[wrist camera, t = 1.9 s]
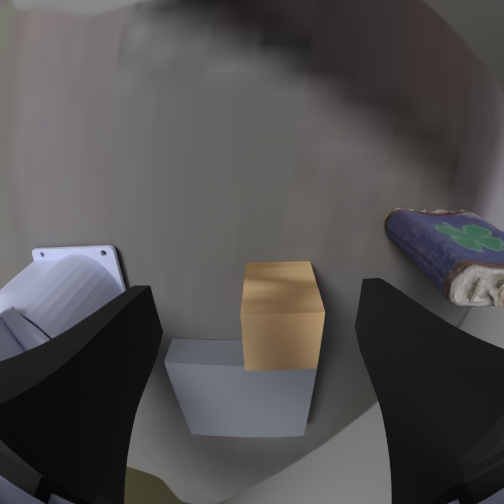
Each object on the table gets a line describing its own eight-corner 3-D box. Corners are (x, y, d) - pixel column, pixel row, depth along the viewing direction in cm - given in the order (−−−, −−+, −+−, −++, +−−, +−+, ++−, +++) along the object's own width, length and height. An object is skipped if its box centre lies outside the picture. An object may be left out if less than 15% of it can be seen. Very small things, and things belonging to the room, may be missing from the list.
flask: (477, 209, 18) (567, 272, 8) (470, 242, 19) (550, 315, 9) (383, 205, 18) (474, 287, 9) (379, 244, 20) (452, 344, 10)
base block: (195, 412, 29) (191, 433, 26) (172, 338, 24) (164, 362, 21) (301, 414, 28) (303, 435, 26) (312, 338, 23) (317, 363, 21)
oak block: (248, 313, 22) (244, 370, 17) (246, 262, 21) (240, 314, 15) (306, 312, 22) (316, 368, 17) (309, 261, 20) (325, 312, 15)
